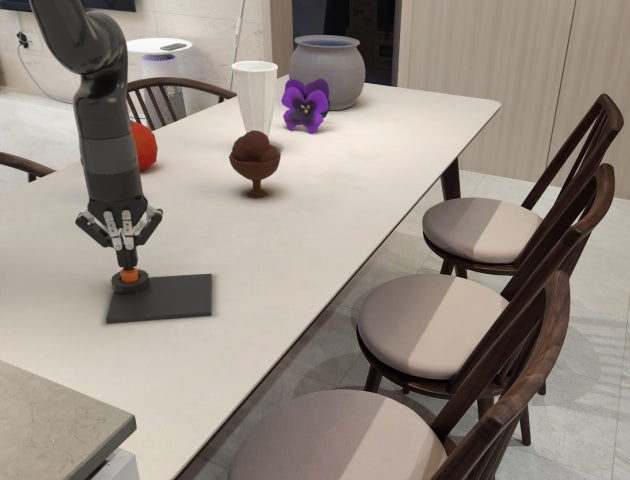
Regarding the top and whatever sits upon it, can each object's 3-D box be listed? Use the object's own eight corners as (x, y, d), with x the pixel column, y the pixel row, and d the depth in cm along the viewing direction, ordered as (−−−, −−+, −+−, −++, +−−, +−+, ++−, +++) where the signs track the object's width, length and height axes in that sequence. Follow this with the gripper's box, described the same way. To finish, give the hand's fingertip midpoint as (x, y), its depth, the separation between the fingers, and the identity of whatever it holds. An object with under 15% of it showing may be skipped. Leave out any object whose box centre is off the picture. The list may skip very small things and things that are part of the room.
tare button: (120, 283, 100) (118, 275, 99) (122, 275, 102) (121, 267, 101) (137, 282, 100) (136, 274, 99) (139, 274, 102) (138, 266, 102)
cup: (267, 141, 173) (264, 59, 162) (288, 153, 165) (286, 67, 154) (228, 148, 166) (222, 62, 156) (248, 161, 159) (243, 72, 148)
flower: (291, 137, 194) (274, 126, 181) (300, 88, 193) (283, 74, 180) (336, 143, 190) (321, 133, 177) (345, 93, 189) (331, 79, 176)
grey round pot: (310, 90, 224) (310, 31, 214) (375, 100, 216) (378, 39, 206) (274, 106, 204) (272, 41, 194) (345, 117, 196) (346, 50, 186)
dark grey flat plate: (105, 327, 94) (102, 310, 92) (116, 286, 104) (113, 270, 103) (211, 319, 97) (210, 302, 95) (212, 279, 107) (210, 264, 106)
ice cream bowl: (292, 195, 141) (291, 128, 133) (258, 210, 133) (254, 140, 125) (256, 183, 146) (253, 118, 138) (221, 198, 137) (216, 130, 130)
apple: (139, 179, 145) (131, 129, 139) (105, 171, 148) (96, 122, 142) (168, 166, 153) (163, 119, 147) (136, 159, 156) (129, 112, 150)
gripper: (160, 153, 96) (174, 254, 104) (66, 155, 93) (88, 259, 102) (156, 170, 89) (171, 276, 98) (55, 173, 87) (80, 283, 96)
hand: (129, 268), depth 100 cm, fingers closed
